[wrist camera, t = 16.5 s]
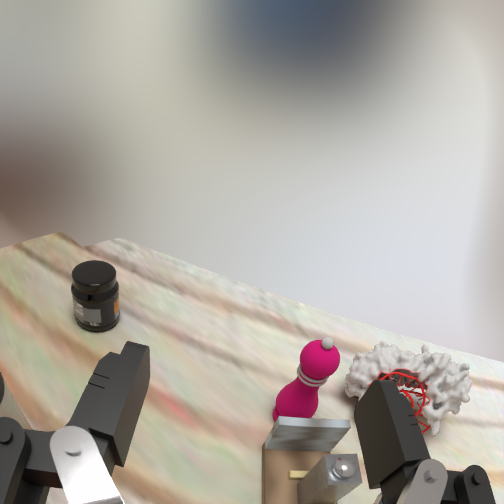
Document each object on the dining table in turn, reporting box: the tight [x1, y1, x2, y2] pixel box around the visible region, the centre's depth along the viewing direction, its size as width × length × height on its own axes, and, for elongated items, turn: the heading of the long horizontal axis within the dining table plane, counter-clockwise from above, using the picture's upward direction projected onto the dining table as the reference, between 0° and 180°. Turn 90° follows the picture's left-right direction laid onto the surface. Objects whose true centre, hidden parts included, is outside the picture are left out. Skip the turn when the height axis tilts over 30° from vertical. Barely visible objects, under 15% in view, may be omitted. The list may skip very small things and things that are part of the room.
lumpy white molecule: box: [345, 342, 472, 436], centre depth 49 cm, size 20×18×25 cm
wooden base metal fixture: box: [262, 416, 351, 504], centre depth 32 cm, size 11×22×10 cm, turn 179°
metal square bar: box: [297, 454, 362, 504], centre depth 31 cm, size 4×4×12 cm
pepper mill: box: [273, 337, 340, 422], centre depth 46 cm, size 7×7×20 cm
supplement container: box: [71, 260, 120, 331], centre depth 59 cm, size 10×10×12 cm
